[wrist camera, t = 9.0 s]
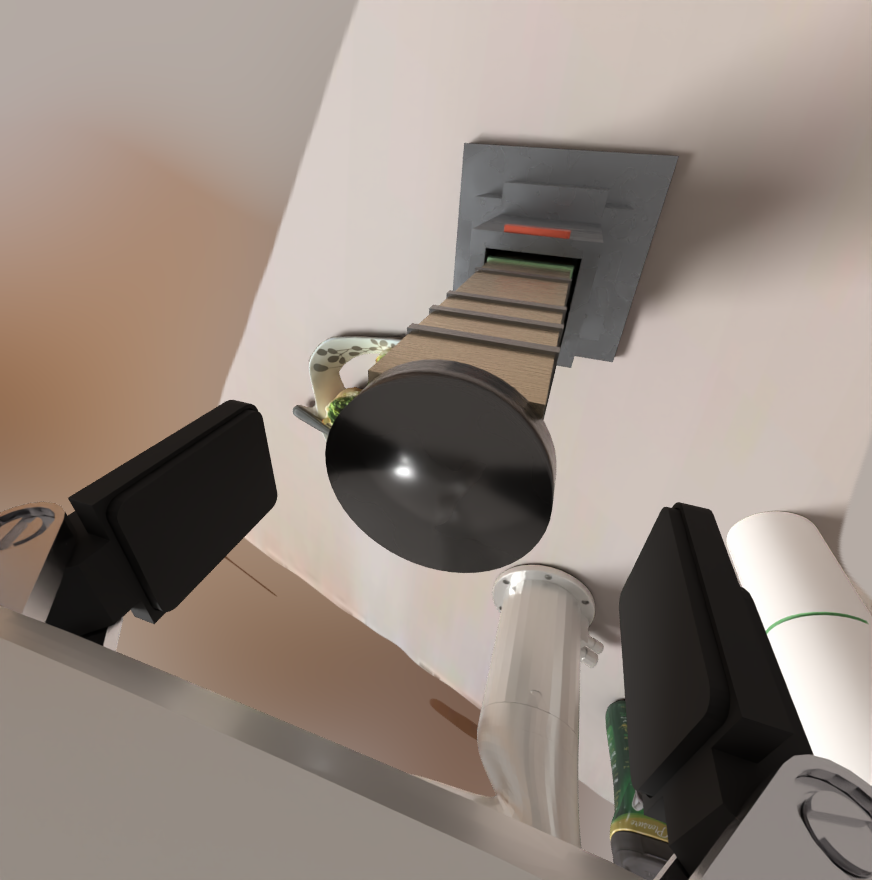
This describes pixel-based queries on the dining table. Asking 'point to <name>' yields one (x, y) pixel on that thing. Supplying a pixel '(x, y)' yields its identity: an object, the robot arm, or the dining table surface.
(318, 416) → the salad plate
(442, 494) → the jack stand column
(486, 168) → the stand
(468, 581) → the dining table surface
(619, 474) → the dining table surface
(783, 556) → the cylindrical container
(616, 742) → the coffee jar
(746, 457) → the dining table surface
